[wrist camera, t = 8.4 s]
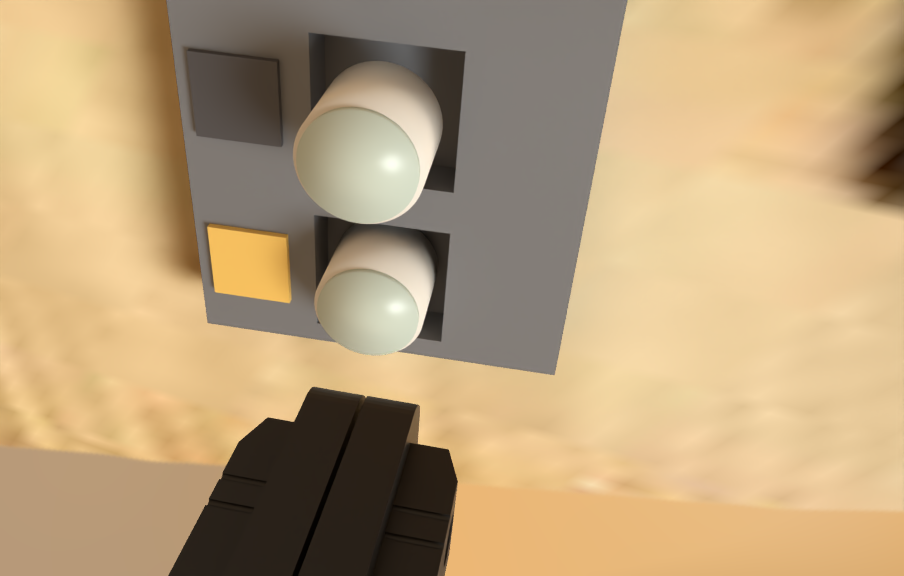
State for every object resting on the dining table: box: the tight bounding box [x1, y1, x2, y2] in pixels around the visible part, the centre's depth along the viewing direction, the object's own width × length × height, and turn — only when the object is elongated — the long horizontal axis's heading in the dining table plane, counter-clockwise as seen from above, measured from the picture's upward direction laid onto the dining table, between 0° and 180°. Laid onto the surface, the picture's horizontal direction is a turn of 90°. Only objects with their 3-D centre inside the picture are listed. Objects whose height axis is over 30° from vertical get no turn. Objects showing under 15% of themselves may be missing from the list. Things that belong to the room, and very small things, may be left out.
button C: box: [314, 223, 438, 355], centre depth 37 cm, size 5×5×4 cm
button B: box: [293, 61, 443, 224], centre depth 31 cm, size 5×5×4 cm
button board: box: [166, 0, 627, 375], centre depth 34 cm, size 17×24×3 cm
